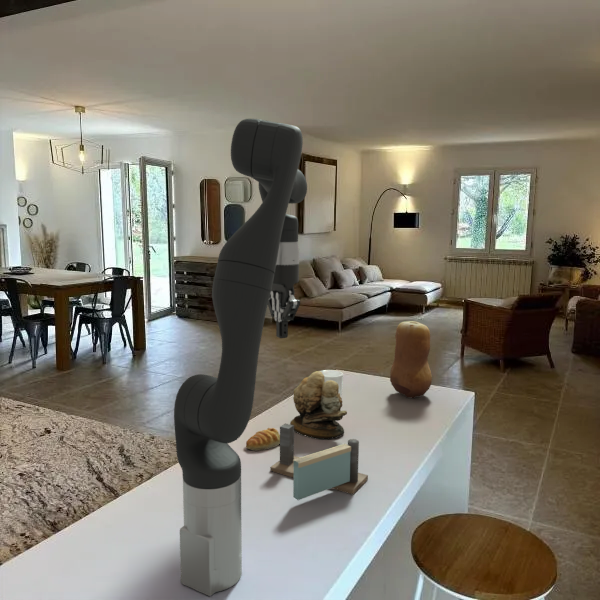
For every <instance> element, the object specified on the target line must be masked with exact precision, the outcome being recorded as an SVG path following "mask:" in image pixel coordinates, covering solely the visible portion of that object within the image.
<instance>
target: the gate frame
mask: <svg viewBox="0 0 600 600" xmlns="http://www.w3.org/2000/svg"><path fill="white" fill-rule="evenodd" d="M279 435H280V445H279V460H278V461H277V462H275V463H274V464H272V465H271V466H269V467H270V468H269V469H270V470H269V471H270V472H272V471H273V473H276V474H279V473H280V475H283V476H287V477H289V478H294V465H293V460H294V459H297V458H300V456H295V431H294V425H290V423H283V424H282V425H280V426H279ZM347 445H349V446H351V452H350V481H349V482H346V483H344V484H341V485H338V486H336V487H333V488H331V489H332V490H336V491H340V492H343V493H347V494H349V495H354V494H355V493H356V492H357V491H358V490H359V489H360V488H361V487H362V486H363V485H364V484H365V483H366V482H367V481H368V480H369V475H368V474H365V473H361V472H359V452H360V451H359V450H360V449H359V446H360V441H359V440H357V439H356V438H355V439H354V438H350V439H347Z"/></svg>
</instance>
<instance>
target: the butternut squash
mask: <svg viewBox="0 0 600 600" xmlns="http://www.w3.org/2000/svg"><path fill="white" fill-rule="evenodd" d="M430 331H431V330H430V329H429V328H428V326H427V325H426V324H423V323H421V322H418V321H415V320H414V321H413V320H408V321H401V322H400V323H399V324H398V325H397V327H396V331H395V335H394V336H395V348H394V349H395V350H394V355H393V356H394V358H393V362H392V363H391V364H392V365H391V368H390V372H389V374H390V376H389V381H390V384H391V386H392V388H393V389H394V390H395V391H396V392H397V393H398V394H401V395H403V396H404V397H406V398H408V399H416V398H419V397H422V396H424V395H425V394H426V393H427V392H428V390H430V388H431V386H432V380H433V377H432V372H431V368H430V364H429V362H428V361H429V358H428V357H429V355H430V351H431V333H430Z"/></svg>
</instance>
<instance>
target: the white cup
mask: <svg viewBox="0 0 600 600" xmlns="http://www.w3.org/2000/svg"><path fill="white" fill-rule="evenodd" d="M319 371H320V372H322V374H323V375H324V380H325V382H326V381H329V380H332V381H335V382H337V383H338V386H339V389H338V390H339V392H338V393H340V397H341V398H342V397H343V396H342V395H343V381H344V373H343V372H342V371H340V370H335V369H325V370H323V369H322V370H319Z"/></svg>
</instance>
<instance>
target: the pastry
mask: <svg viewBox="0 0 600 600" xmlns="http://www.w3.org/2000/svg"><path fill="white" fill-rule="evenodd" d="M279 444H280V431H279V430H278V429H276V428H275V427H268V428H267V429H262V430H259V431H257V432H255V433H254V434H253V435H252V436H250V437H249V438H248V439H247V440H246V443H245V448H246V449H248V450H251V451H256V450H258V451H263V449H264V450H268V448H269V449H272V448H275V447H277V445H278V446H280V445H279ZM274 446H275V447H274ZM271 447H272V448H271ZM256 452H257V451H256Z"/></svg>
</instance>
